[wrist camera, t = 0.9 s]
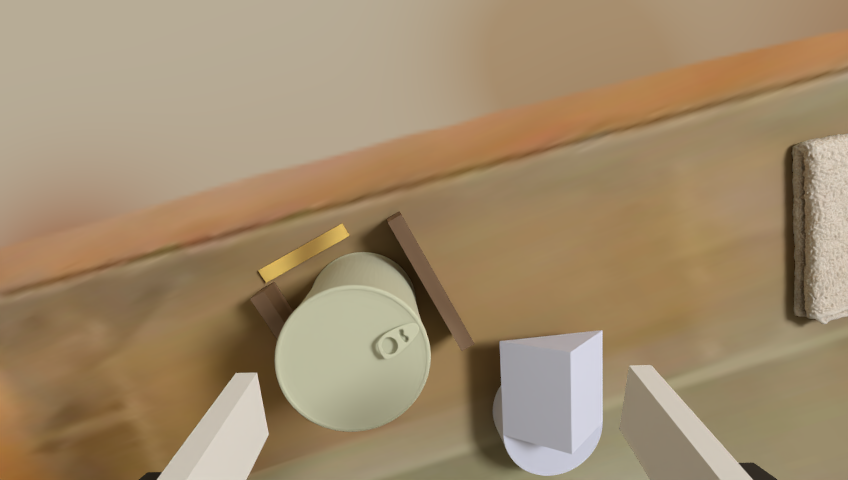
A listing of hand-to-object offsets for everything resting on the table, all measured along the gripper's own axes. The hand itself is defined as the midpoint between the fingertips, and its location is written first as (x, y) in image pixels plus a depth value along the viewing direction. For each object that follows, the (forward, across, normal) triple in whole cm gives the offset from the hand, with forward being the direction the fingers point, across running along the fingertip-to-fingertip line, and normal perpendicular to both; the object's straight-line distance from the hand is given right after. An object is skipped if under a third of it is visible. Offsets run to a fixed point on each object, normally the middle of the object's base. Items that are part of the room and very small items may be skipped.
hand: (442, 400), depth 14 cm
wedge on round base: (+20, -10, +15) cm, 27 cm away
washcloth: (+26, -40, +2) cm, 48 cm away
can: (+20, +6, +6) cm, 21 cm away
